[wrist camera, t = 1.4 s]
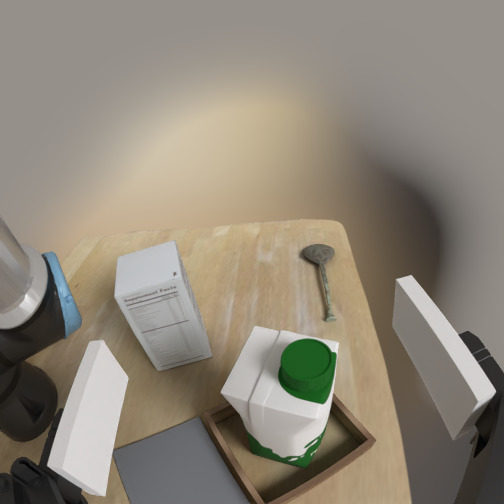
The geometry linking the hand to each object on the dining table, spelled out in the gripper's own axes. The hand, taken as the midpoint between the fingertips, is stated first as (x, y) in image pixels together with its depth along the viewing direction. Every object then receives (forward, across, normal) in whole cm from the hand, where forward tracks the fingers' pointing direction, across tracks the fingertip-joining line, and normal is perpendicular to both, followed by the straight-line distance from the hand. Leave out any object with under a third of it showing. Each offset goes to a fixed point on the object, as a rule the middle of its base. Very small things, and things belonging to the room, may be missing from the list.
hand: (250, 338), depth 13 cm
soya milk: (+9, -1, -29) cm, 30 cm away
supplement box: (+28, -15, -26) cm, 41 cm away
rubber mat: (+4, -15, -28) cm, 32 cm away
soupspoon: (+38, +11, -27) cm, 48 cm away
